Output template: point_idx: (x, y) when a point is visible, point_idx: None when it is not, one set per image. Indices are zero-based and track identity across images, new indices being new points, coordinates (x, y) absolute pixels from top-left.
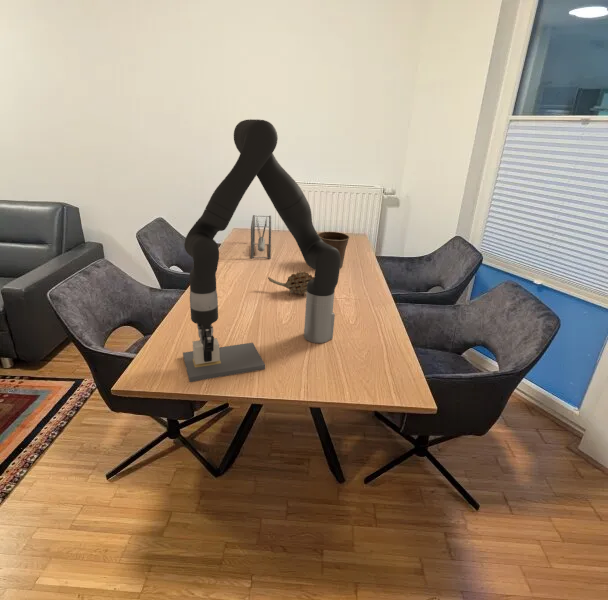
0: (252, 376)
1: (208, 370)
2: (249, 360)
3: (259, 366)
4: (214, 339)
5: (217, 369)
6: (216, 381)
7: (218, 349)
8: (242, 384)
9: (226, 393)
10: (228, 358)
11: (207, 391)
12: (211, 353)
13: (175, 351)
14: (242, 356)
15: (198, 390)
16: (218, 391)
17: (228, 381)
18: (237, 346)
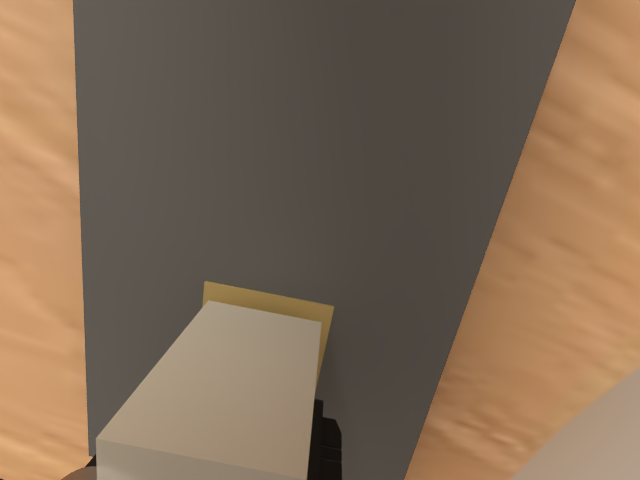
0: (580, 129)
1: (378, 408)
2: (420, 59)
3: (569, 5)
4: (129, 473)
5: (400, 358)
6: (468, 370)
7: (310, 419)
8: (616, 245)
9: (625, 370)
10: (290, 227)
11: (528, 442)
12: (319, 464)
13: (36, 441)
14: (314, 93)
15: (487, 472)
16: (571, 398)
17: (517, 311)
18: (110, 55)
